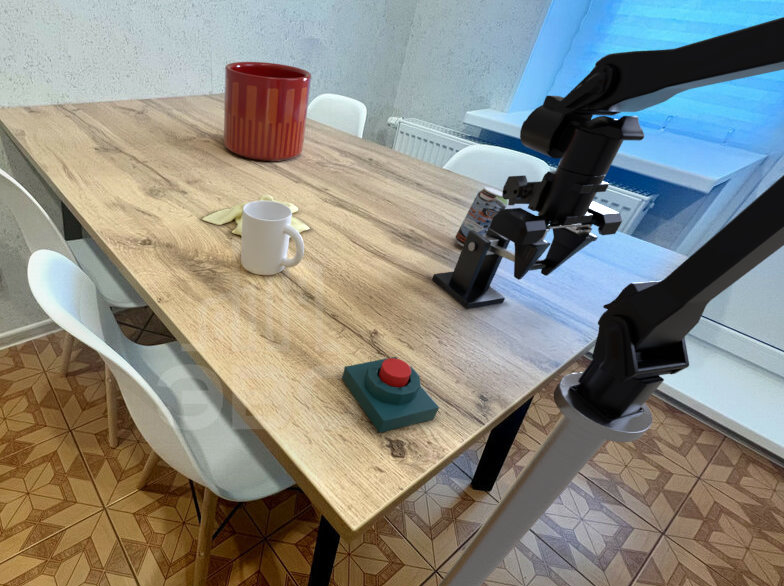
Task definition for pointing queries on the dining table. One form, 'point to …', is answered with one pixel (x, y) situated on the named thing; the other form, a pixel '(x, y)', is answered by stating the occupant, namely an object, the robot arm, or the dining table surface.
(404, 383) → the button
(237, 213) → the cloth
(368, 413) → the button block
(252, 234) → the mug
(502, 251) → the lever
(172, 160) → the dining table surface
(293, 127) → the planter
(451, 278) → the bracket
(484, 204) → the beverage can
